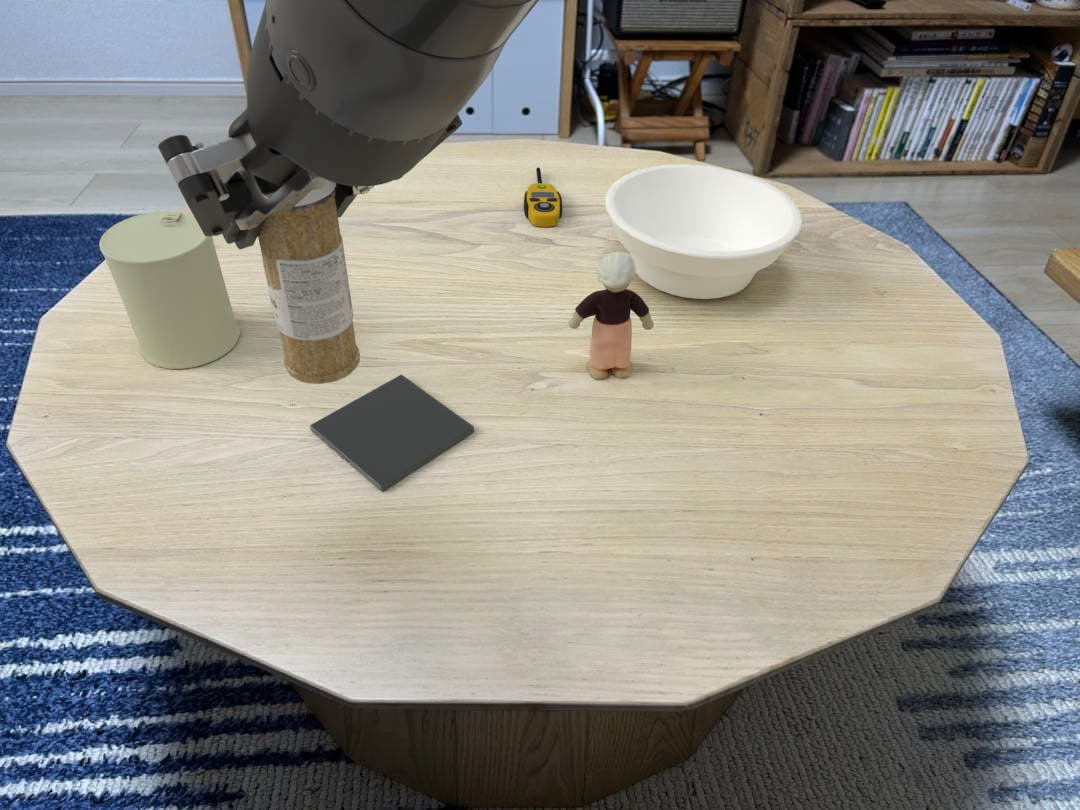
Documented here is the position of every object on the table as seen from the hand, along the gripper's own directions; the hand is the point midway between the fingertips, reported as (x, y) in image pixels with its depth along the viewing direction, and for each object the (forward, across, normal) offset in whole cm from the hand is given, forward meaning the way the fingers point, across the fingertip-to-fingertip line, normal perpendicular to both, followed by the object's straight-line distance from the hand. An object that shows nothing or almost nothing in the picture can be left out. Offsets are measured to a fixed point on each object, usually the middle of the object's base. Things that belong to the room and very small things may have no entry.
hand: (281, 216), depth 42 cm
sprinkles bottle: (+5, 0, +8) cm, 9 cm away
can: (+39, 0, -3) cm, 39 cm away
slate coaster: (+23, -8, +14) cm, 28 cm away
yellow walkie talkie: (+40, -47, -4) cm, 62 cm away
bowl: (+23, -49, +13) cm, 56 cm away
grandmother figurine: (+19, -29, +18) cm, 39 cm away
